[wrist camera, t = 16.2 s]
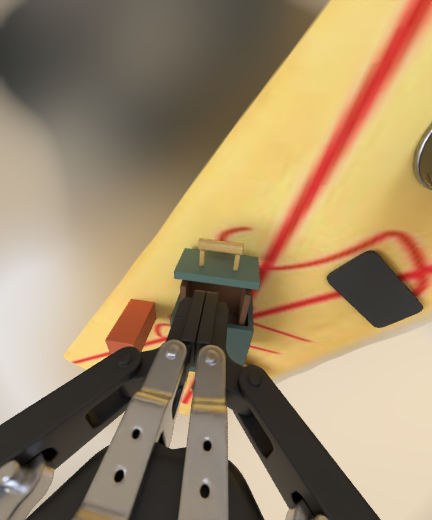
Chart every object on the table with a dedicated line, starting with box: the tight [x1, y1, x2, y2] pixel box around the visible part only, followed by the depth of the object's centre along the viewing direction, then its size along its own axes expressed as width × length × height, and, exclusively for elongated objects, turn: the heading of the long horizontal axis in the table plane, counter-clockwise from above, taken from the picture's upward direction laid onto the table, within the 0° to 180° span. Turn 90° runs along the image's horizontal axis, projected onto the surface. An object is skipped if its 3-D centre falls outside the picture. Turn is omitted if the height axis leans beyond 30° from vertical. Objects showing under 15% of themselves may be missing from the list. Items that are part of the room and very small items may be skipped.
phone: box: [327, 251, 423, 328], centre depth 32 cm, size 7×1×15 cm
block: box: [105, 299, 156, 354], centre depth 38 cm, size 5×5×9 cm
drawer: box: [174, 238, 260, 326], centre depth 31 cm, size 16×11×6 cm, turn 176°
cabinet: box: [170, 294, 254, 372], centre depth 37 cm, size 14×12×8 cm
